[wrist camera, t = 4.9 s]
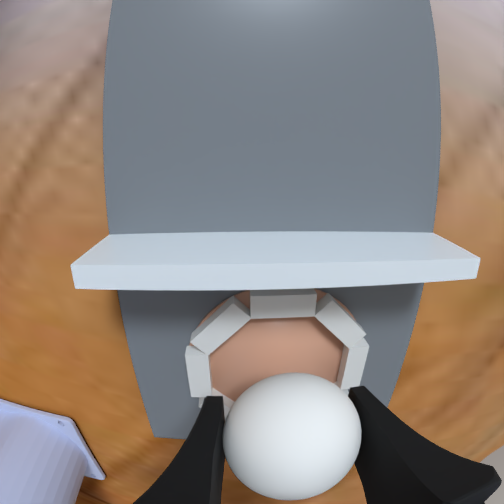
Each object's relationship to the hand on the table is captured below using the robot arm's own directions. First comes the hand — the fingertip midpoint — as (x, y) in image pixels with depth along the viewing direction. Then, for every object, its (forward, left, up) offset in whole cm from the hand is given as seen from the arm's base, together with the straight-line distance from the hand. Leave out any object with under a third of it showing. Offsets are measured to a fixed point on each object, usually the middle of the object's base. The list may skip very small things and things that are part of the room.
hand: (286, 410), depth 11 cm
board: (0, +6, -4) cm, 7 cm away
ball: (0, 0, +2) cm, 2 cm away
